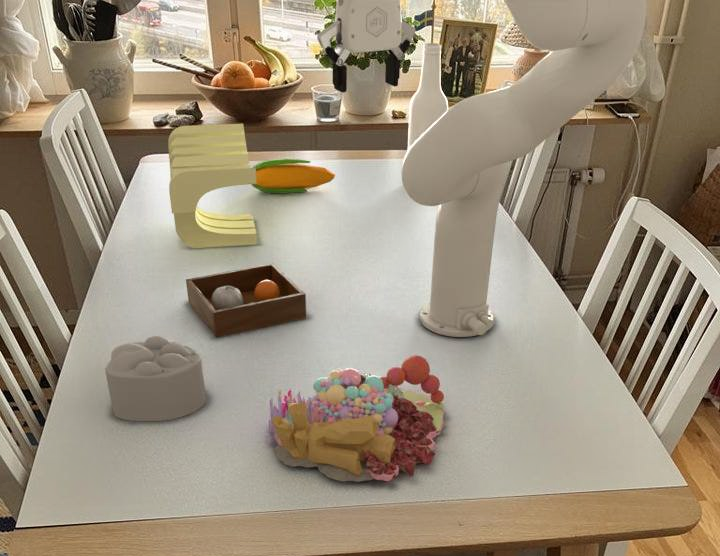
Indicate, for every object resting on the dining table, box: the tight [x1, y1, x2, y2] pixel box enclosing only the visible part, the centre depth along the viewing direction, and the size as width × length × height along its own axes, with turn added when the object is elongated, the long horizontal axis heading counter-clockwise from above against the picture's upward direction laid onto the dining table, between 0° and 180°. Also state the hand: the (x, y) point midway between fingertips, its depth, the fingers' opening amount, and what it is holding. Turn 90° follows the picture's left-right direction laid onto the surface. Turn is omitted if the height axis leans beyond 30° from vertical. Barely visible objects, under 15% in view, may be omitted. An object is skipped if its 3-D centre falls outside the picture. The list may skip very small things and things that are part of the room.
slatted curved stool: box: [167, 123, 259, 249], centre depth 170 cm, size 30×16×18 cm, turn 11°
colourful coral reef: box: [268, 354, 445, 483], centre depth 115 cm, size 25×24×9 cm
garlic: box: [212, 286, 243, 310], centre depth 145 cm, size 6×5×5 cm
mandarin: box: [255, 280, 280, 302], centre depth 148 cm, size 4×4×4 cm
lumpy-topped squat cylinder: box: [104, 335, 207, 422], centre depth 122 cm, size 10×13×9 cm
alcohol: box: [406, 42, 449, 153], centre depth 194 cm, size 9×9×30 cm
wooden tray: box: [185, 262, 307, 338], centre depth 147 cm, size 14×16×4 cm
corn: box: [250, 158, 336, 194], centre depth 195 cm, size 7×8×20 cm
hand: (366, 87), depth 140 cm, fingers open, 9 cm apart
